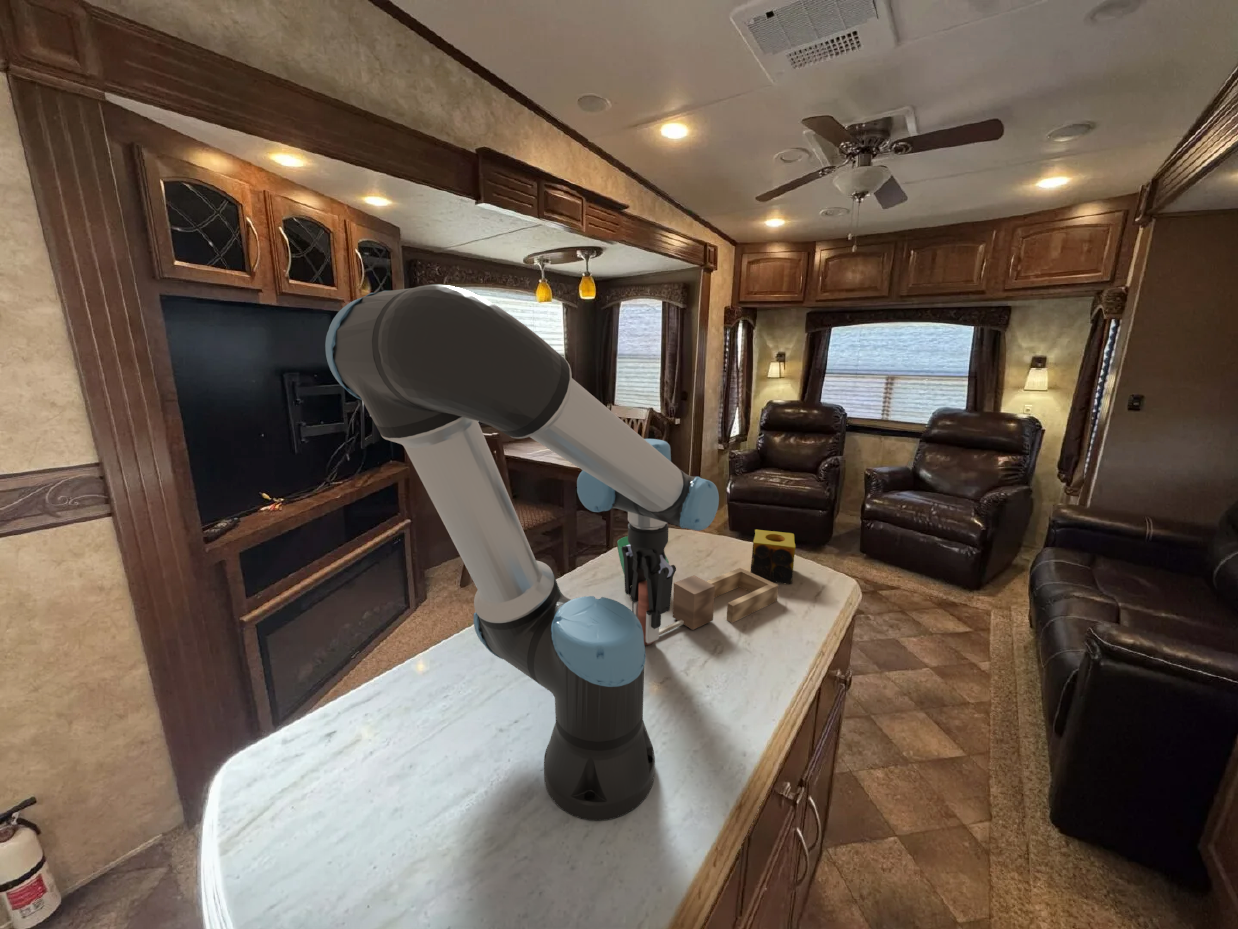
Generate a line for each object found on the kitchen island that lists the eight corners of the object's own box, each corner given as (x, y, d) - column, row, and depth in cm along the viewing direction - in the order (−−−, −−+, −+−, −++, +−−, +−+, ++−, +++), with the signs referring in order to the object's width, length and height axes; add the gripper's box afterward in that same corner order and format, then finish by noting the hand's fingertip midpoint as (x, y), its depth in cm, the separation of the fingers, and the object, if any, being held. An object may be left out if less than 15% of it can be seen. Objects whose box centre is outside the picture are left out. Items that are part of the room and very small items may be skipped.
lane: (731, 623, 102) (733, 606, 101) (694, 601, 111) (695, 585, 110) (777, 601, 111) (778, 585, 110) (739, 582, 120) (740, 567, 119)
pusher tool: (649, 650, 92) (650, 593, 89) (629, 635, 97) (630, 580, 94) (712, 620, 102) (715, 568, 99) (692, 608, 107) (694, 558, 104)
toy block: (749, 579, 121) (752, 542, 119) (750, 563, 131) (753, 528, 128) (792, 585, 118) (796, 547, 116) (790, 568, 128) (794, 532, 125)
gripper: (694, 531, 85) (688, 649, 91) (636, 507, 98) (635, 611, 103) (662, 541, 81) (658, 664, 86) (606, 514, 94) (606, 623, 99)
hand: (645, 635), depth 95 cm, fingers closed on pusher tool, 3 cm apart
